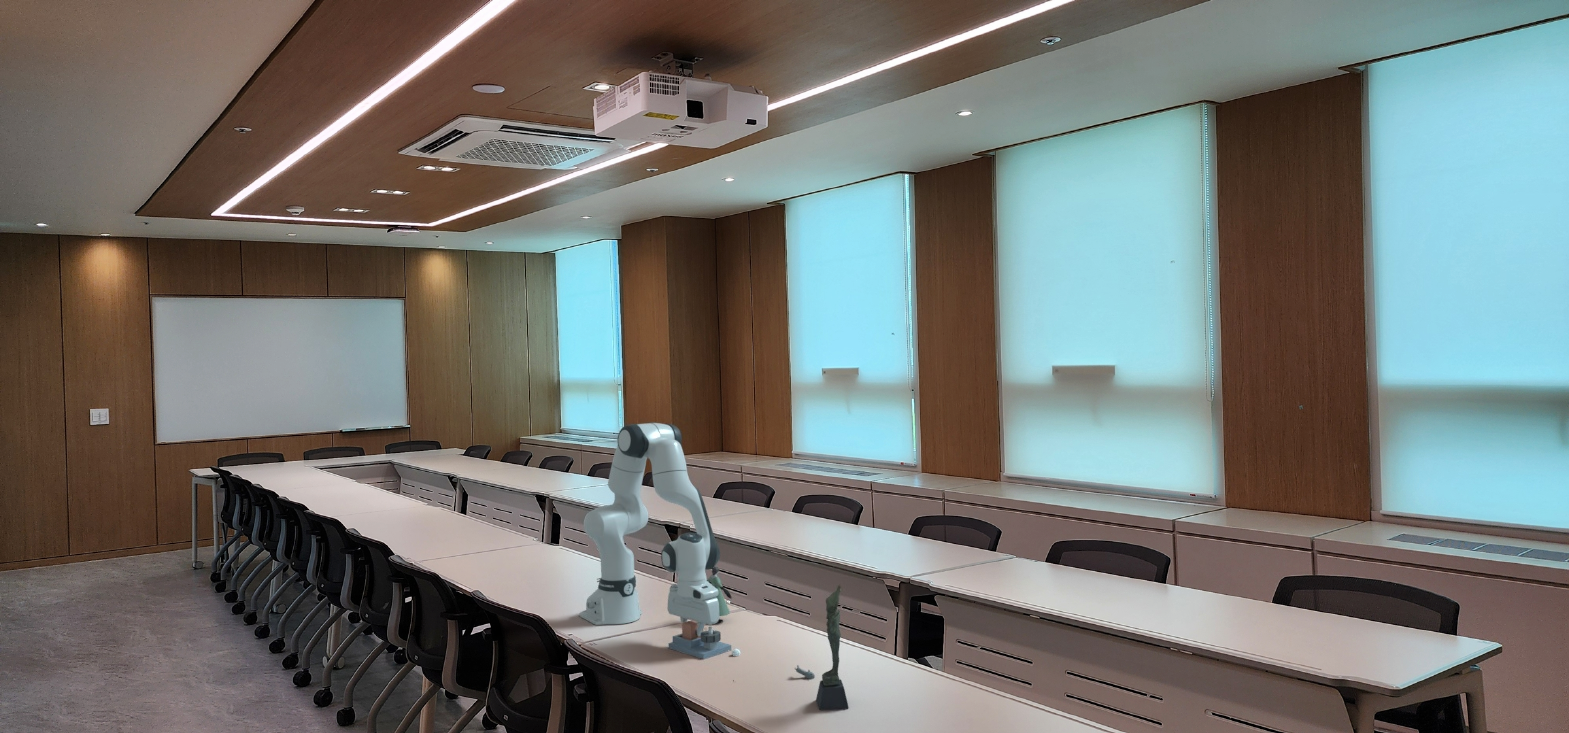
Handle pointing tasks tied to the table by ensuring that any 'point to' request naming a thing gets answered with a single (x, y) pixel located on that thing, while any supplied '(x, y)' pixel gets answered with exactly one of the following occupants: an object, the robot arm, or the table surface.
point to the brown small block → (689, 630)
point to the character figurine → (719, 593)
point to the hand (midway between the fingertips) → (693, 633)
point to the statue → (830, 685)
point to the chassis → (698, 646)
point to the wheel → (710, 636)
